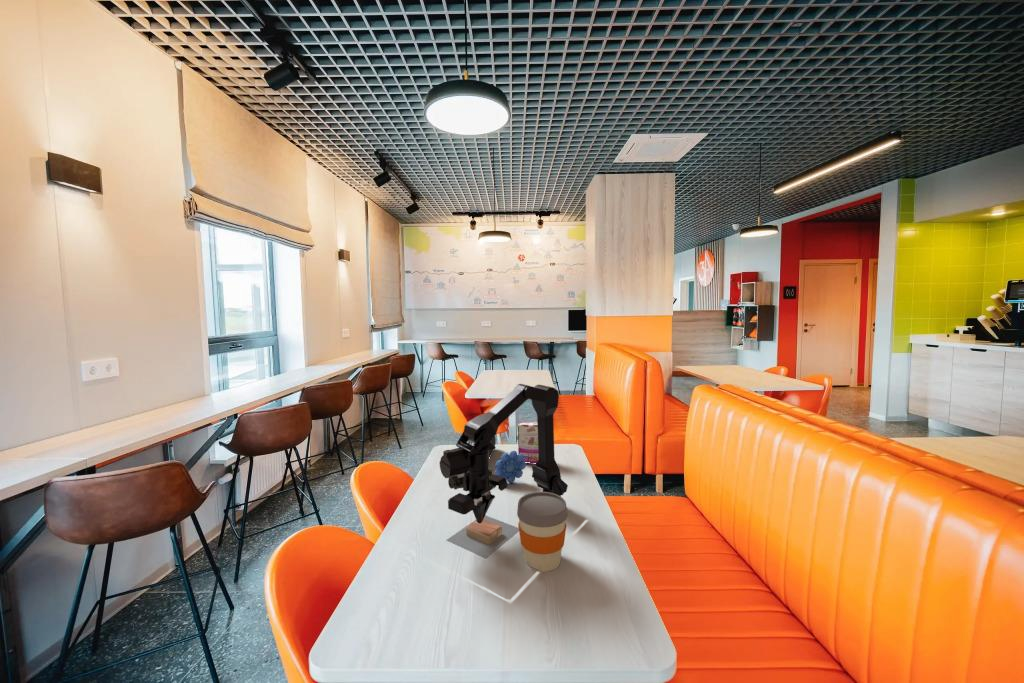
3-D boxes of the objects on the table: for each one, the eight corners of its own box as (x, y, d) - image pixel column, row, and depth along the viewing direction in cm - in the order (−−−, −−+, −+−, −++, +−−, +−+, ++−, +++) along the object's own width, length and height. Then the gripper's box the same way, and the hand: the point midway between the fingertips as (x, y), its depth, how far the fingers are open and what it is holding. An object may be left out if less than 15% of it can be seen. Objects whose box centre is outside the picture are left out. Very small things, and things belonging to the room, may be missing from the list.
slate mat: (483, 516, 120) (483, 514, 120) (521, 530, 112) (521, 528, 112) (446, 542, 107) (446, 540, 107) (486, 560, 99) (486, 558, 99)
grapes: (524, 477, 148) (524, 446, 147) (527, 485, 141) (526, 452, 140) (493, 478, 147) (493, 447, 146) (494, 486, 140) (494, 454, 139)
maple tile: (480, 517, 114) (466, 526, 109) (502, 525, 110) (488, 536, 105) (480, 525, 114) (466, 535, 109) (502, 534, 110) (488, 544, 105)
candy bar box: (546, 460, 163) (546, 422, 162) (545, 465, 158) (545, 425, 157) (519, 459, 165) (519, 421, 164) (518, 463, 160) (517, 424, 159)
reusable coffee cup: (533, 583, 91) (533, 521, 90) (509, 553, 102) (508, 498, 101) (577, 566, 97) (577, 507, 95) (549, 539, 108) (549, 487, 106)
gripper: (477, 451, 119) (479, 500, 120) (432, 472, 103) (434, 529, 105) (507, 458, 112) (508, 511, 114) (463, 483, 97) (465, 543, 98)
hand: (479, 522), depth 108 cm, fingers closed
